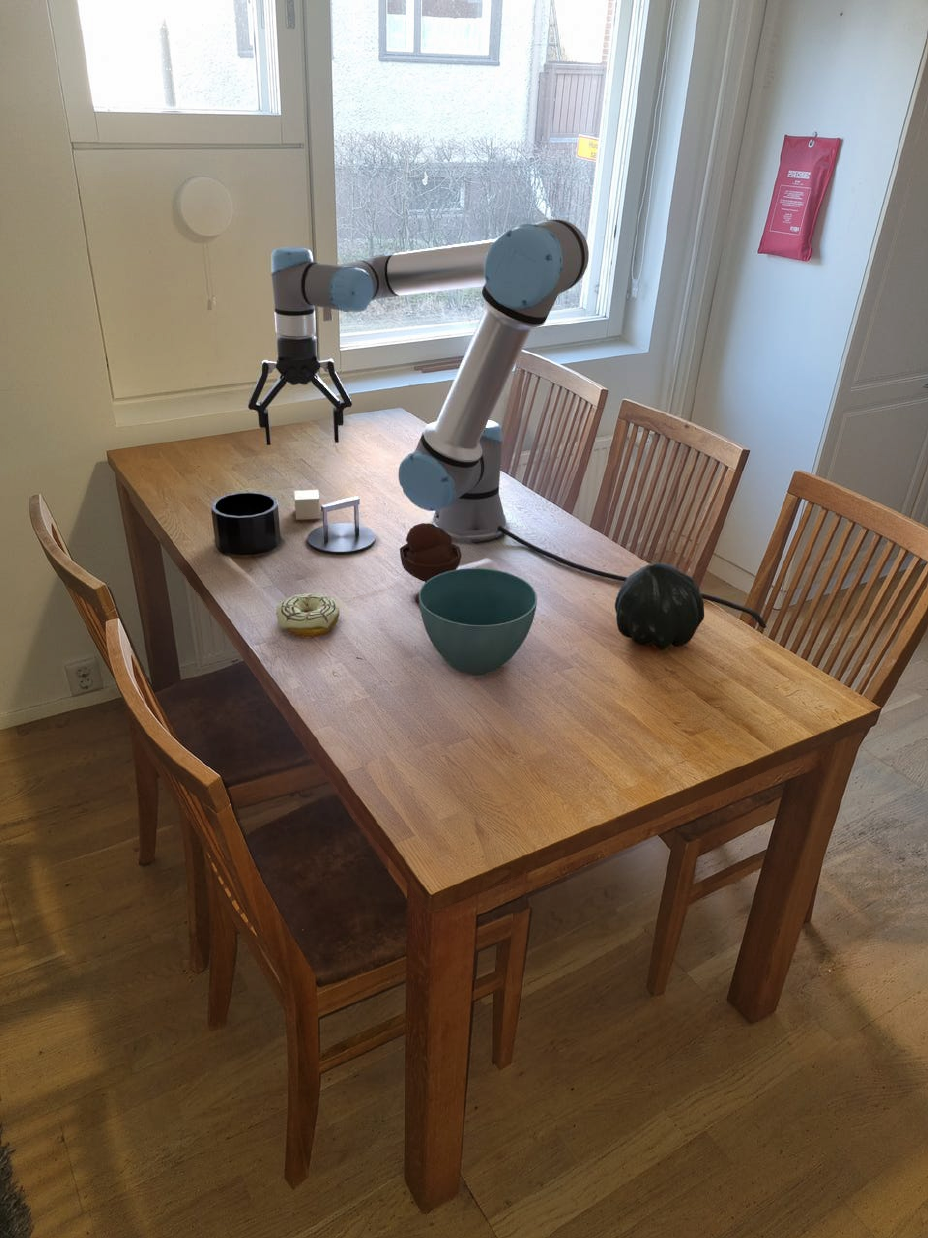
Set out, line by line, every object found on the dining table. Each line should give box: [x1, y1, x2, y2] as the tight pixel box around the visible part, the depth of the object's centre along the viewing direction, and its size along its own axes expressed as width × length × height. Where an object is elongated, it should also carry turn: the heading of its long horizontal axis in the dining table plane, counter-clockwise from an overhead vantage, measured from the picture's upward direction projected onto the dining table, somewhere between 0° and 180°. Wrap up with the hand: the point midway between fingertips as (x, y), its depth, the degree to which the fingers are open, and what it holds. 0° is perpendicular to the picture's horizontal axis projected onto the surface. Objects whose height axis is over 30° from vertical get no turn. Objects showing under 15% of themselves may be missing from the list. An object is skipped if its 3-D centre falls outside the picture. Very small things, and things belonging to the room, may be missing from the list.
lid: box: [307, 496, 377, 556], centre depth 179 cm, size 14×14×9 cm
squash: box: [614, 562, 705, 651], centre depth 150 cm, size 14×15×15 cm
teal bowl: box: [418, 567, 538, 676], centre depth 142 cm, size 18×18×12 cm
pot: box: [210, 491, 282, 557], centre depth 177 cm, size 13×13×8 cm
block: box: [293, 489, 321, 521], centre depth 191 cm, size 5×5×5 cm
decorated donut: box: [275, 592, 340, 639], centre depth 153 cm, size 10×11×4 cm
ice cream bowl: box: [399, 522, 463, 605], centre depth 159 cm, size 11×11×15 cm
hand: (302, 441), depth 183 cm, fingers open, 13 cm apart
